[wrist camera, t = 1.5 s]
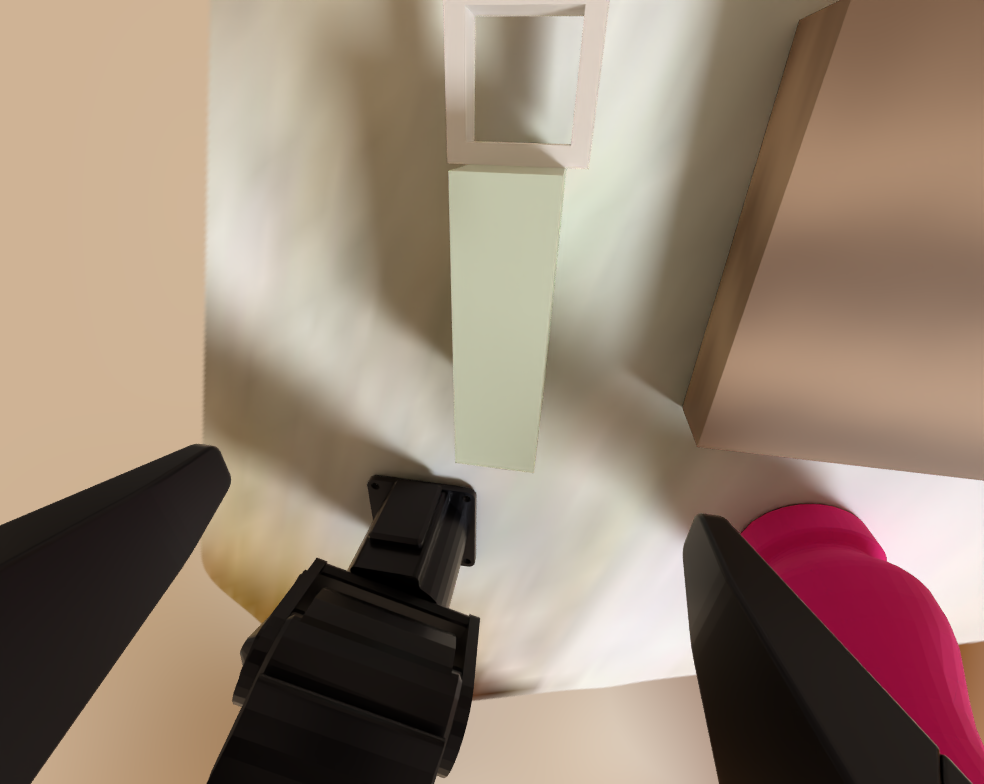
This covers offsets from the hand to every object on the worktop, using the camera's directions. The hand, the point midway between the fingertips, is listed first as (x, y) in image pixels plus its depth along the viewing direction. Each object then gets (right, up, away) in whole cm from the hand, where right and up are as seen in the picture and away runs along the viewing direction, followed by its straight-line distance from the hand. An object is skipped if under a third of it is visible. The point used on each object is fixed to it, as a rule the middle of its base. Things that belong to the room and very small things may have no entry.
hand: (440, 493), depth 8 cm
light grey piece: (+2, +8, +10) cm, 13 cm away
